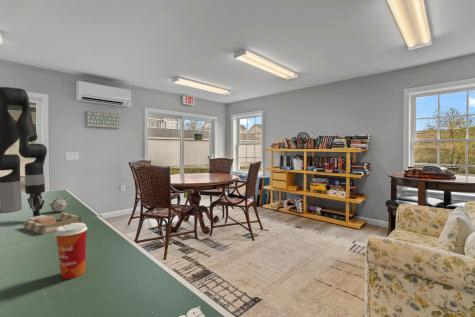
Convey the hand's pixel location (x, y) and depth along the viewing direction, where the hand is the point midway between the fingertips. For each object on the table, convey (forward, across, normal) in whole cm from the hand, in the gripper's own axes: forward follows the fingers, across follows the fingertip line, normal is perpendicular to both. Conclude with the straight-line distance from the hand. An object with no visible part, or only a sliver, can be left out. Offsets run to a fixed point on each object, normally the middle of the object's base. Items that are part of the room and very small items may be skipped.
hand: (36, 217), depth 118 cm
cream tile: (+2, +4, -1) cm, 5 cm away
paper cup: (+2, +72, -18) cm, 74 cm away
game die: (+2, -8, +14) cm, 16 cm away
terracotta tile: (+2, +10, 0) cm, 11 cm away
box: (+2, +17, 0) cm, 17 cm away
